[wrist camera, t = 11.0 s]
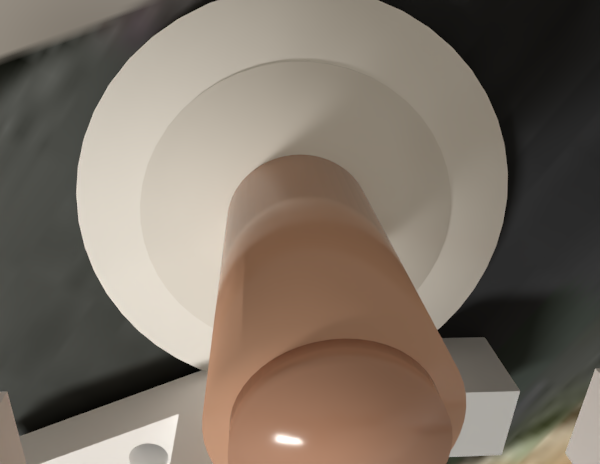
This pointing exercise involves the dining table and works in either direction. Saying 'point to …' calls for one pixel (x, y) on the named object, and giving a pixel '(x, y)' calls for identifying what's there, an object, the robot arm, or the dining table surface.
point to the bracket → (130, 430)
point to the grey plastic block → (482, 397)
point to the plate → (285, 151)
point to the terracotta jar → (322, 332)
